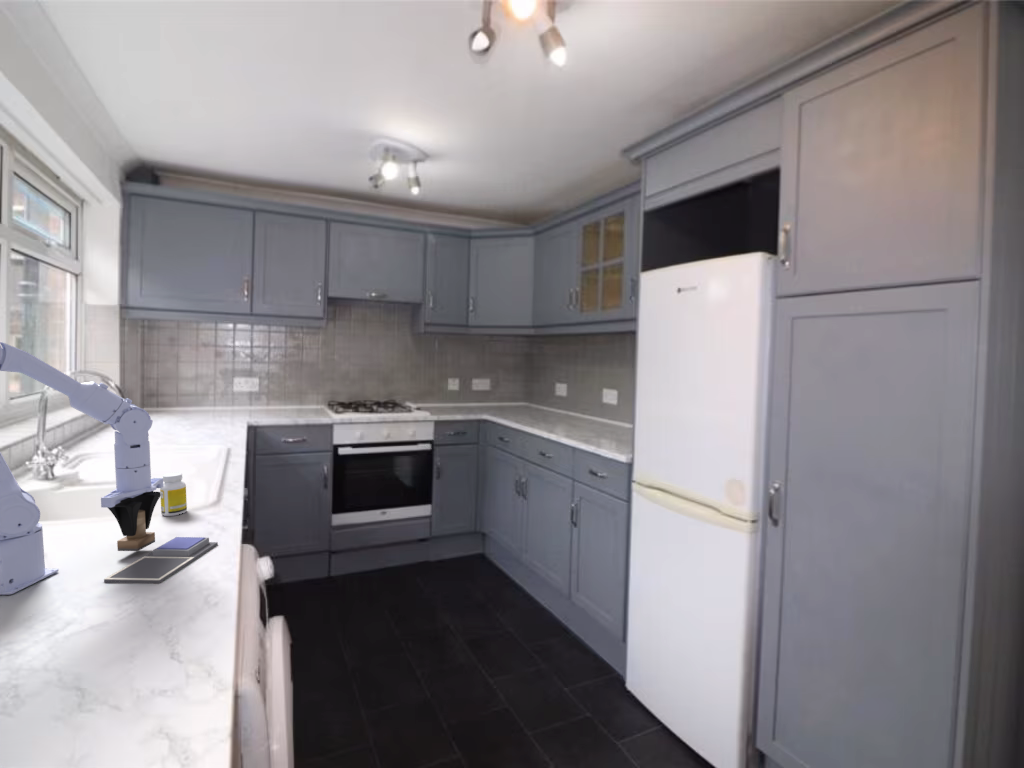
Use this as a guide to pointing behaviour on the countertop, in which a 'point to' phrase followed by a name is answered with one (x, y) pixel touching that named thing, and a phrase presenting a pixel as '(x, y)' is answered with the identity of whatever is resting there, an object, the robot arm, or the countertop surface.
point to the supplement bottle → (173, 495)
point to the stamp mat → (163, 561)
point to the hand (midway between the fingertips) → (136, 532)
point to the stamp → (137, 536)
